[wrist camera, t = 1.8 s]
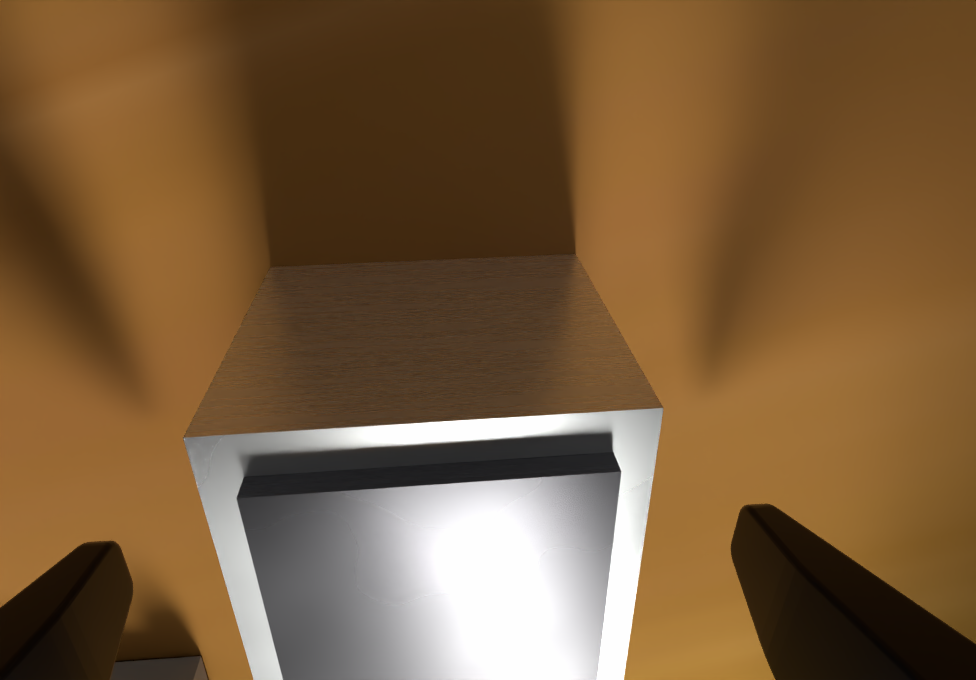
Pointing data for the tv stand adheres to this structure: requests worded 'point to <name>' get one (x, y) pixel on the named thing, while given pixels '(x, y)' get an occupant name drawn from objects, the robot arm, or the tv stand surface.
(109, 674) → the robot arm
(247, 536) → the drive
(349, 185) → the tv stand surface
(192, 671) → the tray
